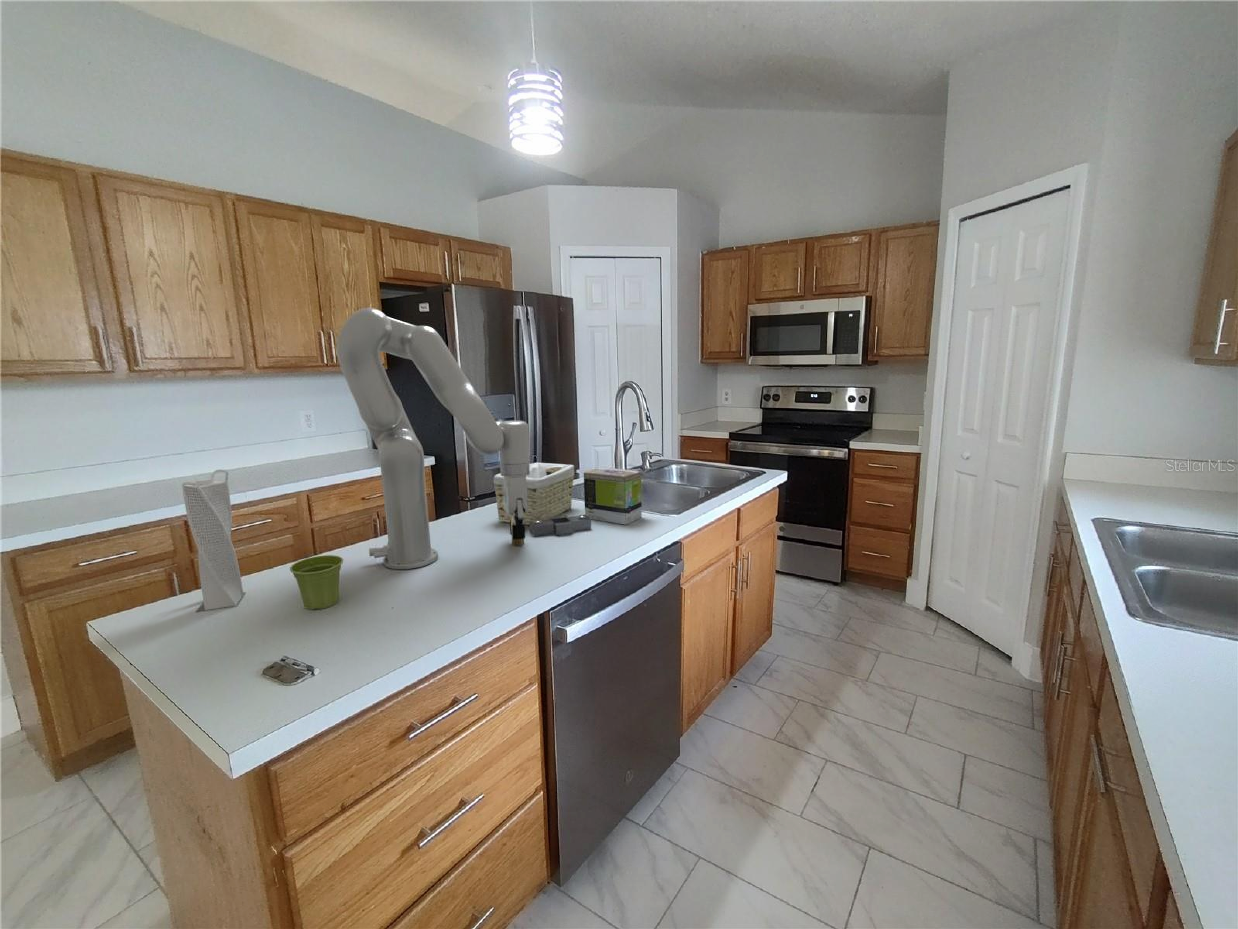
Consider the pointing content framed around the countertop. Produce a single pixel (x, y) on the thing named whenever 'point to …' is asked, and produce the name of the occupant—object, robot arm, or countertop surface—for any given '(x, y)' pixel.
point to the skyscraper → (213, 542)
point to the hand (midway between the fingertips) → (517, 536)
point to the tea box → (613, 495)
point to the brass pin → (514, 542)
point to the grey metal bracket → (560, 525)
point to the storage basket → (541, 492)
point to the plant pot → (318, 580)
